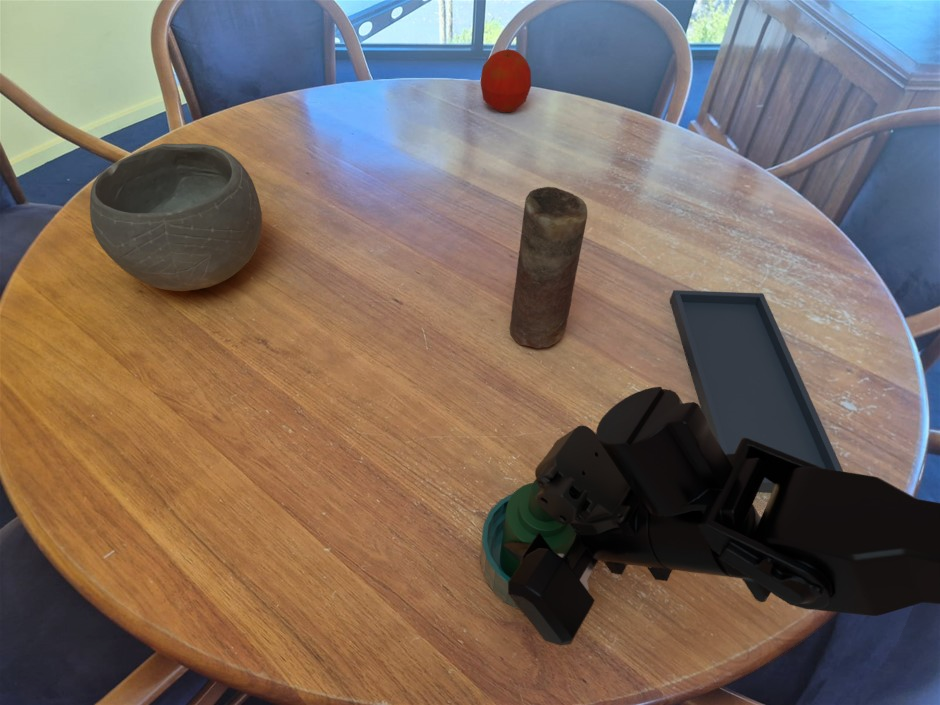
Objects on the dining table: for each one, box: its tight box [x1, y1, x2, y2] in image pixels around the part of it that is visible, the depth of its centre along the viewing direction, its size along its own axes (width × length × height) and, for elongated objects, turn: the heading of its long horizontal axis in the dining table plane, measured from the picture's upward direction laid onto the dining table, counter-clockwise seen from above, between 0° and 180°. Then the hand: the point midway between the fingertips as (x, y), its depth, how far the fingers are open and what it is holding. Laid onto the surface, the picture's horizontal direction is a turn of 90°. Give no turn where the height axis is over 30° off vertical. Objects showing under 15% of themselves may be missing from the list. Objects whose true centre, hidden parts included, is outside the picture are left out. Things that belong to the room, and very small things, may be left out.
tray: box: [669, 289, 844, 494], centre depth 77 cm, size 31×13×2 cm, turn 179°
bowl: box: [89, 143, 263, 292], centre depth 85 cm, size 21×21×15 cm
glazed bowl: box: [479, 492, 577, 610], centre depth 59 cm, size 10×10×5 cm
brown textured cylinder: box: [509, 186, 588, 349], centre depth 76 cm, size 8×7×20 cm
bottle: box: [500, 479, 576, 578], centre depth 56 cm, size 6×6×13 cm
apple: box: [480, 48, 532, 113], centre depth 123 cm, size 10×10×12 cm
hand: (526, 519), depth 56 cm, fingers closed on bottle, 6 cm apart
